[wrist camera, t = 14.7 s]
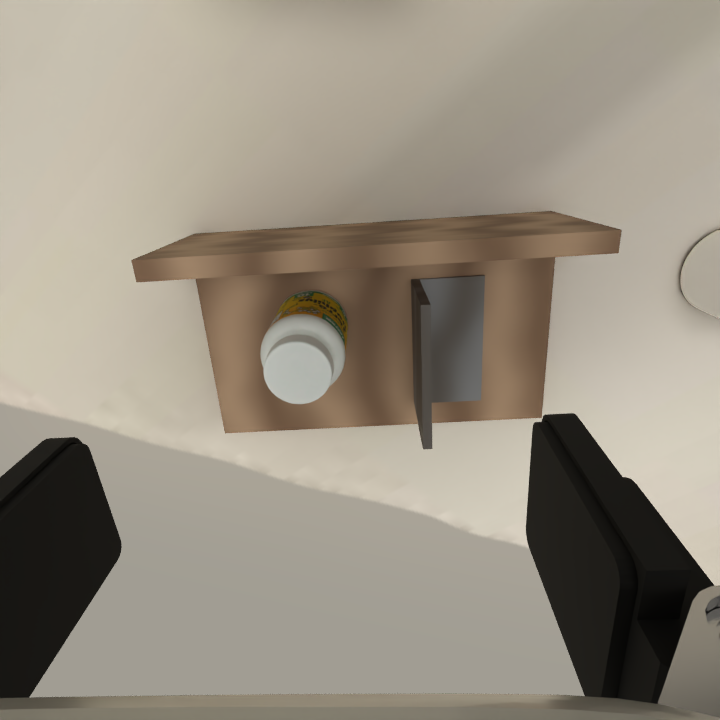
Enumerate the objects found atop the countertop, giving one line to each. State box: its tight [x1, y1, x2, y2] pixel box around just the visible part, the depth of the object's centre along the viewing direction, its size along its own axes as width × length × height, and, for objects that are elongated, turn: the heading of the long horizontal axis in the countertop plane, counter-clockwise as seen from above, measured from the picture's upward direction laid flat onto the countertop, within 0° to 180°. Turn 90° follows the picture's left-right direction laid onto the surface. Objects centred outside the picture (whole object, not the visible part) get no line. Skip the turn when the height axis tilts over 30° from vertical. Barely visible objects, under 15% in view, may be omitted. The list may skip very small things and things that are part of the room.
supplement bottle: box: [260, 290, 348, 404], centre depth 33 cm, size 5×5×10 cm
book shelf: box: [131, 211, 621, 449], centre depth 34 cm, size 26×16×10 cm, turn 94°
